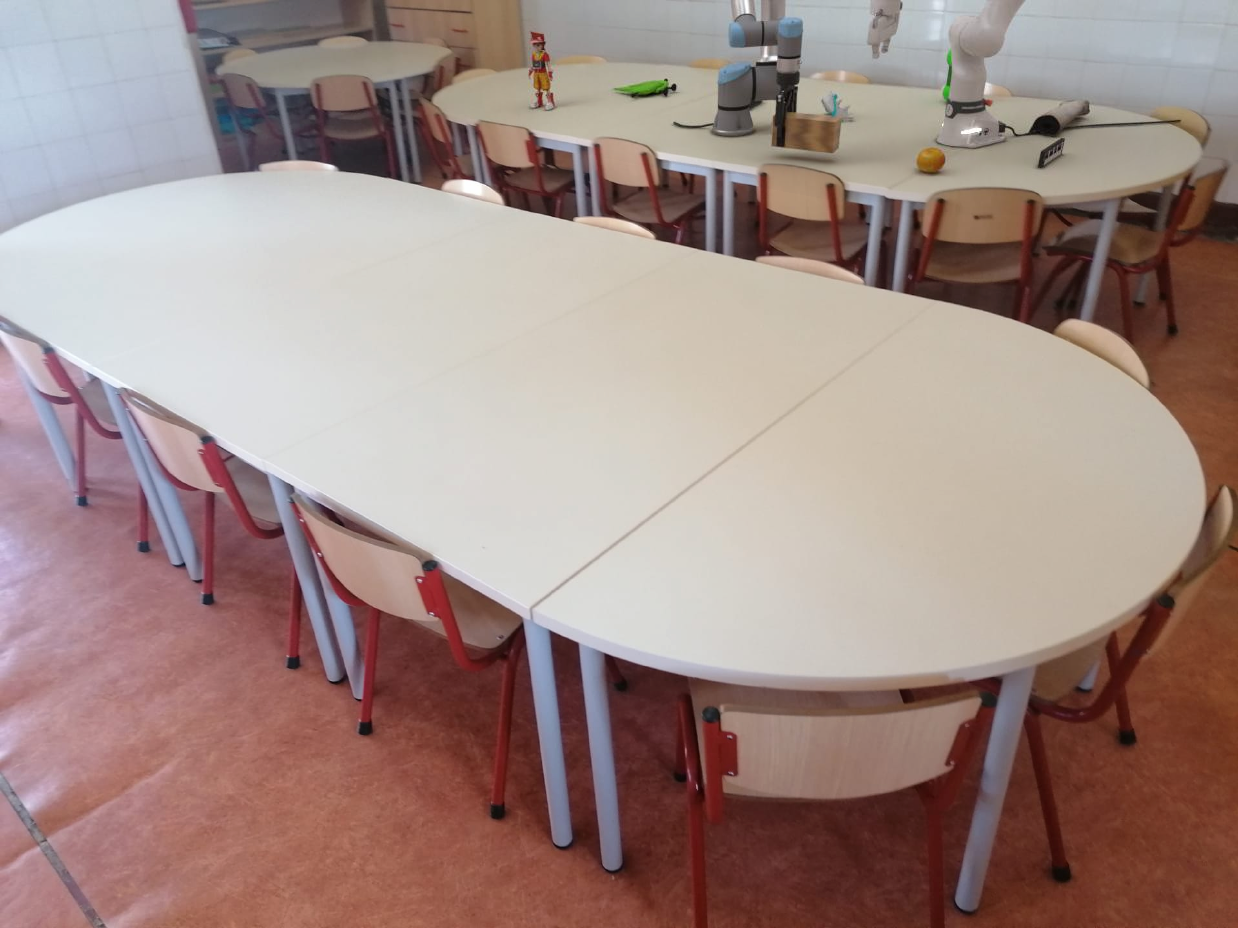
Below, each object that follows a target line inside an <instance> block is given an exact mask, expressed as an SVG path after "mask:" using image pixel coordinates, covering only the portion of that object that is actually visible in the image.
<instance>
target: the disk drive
mask: <svg viewBox="0 0 1238 928" xmlns="http://www.w3.org/2000/svg"><path fill="white" fill-rule="evenodd" d="M762 102H763V101H750V102H749V110H750V109H752V108H753V107H755V106H757V105H759V104H761V103H762Z"/></svg>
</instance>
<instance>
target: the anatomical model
mask: <svg viewBox="0 0 1238 928" xmlns="http://www.w3.org/2000/svg"><path fill="white" fill-rule="evenodd" d="M820 99H821V100H820V101H821V104H822V106H823V108H824V110H825V112H827V113H829V114H830V116H836V117H842V118H841V121H843V120H853V119H854V118H855V116H854V115H851V114H849V113H848V110H849V109H850V108H851V105H845V106H843V107H841V106H840V104H841V102H842V101H843V98H840V99H838V94H837V93H835V92H834V91H833V90H830V92H829V94H828V95H826V96H822V97H821V98H820ZM837 99H838V100H837Z"/></svg>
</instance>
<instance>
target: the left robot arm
mask: <svg viewBox="0 0 1238 928" xmlns="http://www.w3.org/2000/svg"><path fill="white" fill-rule="evenodd" d="M786 1H787V0H760V20H757V15H756V7H755V0H730V6H731V14H732V22H730V23H729V25H728V35H727V37H728V46H729V47H730V48H733V49H734V48H735V49H737V48H739V49H743V48H755V47H756V48H757V47H758V48H760V49H759V51H760V52H759V57H757V59H756V60H755V66H752V65H751V63H750V62H747V61H743V62H742V61H739V62H734V63H729V64H726V65H724V66H722V67H720V69H719V70H718V75H717V111H716V114H715V118H714V120H713V122H711V123H705V124H700V125H699V124H698V125H687V124H681V123H679V122H676V121H673V122H672V124H673V125H675V126H678V127H681V128H687V129H701V128H706V127H712V133H713V134H715V135H717V136H721V137H741V136H746V135H750V134H752V133H754V127H755V126H754V121H753V118H752V115H751V111H750V109H749V102H750V101H762V102H764V101H775V113H774V115H775V124H774V126H775V127H777V140H776V146H779V147H778V148H782V147H784V146H785V130H786V127H785V120H786V113H787V112H795V113H798V111H797V110H798V91H799V86H798V85H799V84H800V79H801V72H800V70H801V64H802V63H803V61H802V60H801V59H802V45H803V33H804V21H803V19H802V18H800V17H797V16H796V17H795V16H792V17H791V16H789V17H786Z"/></svg>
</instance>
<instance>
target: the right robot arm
mask: <svg viewBox="0 0 1238 928" xmlns="http://www.w3.org/2000/svg"><path fill="white" fill-rule="evenodd" d="M1025 2H1026V0H986V1H985V3H984V5H983V8H982V9H981V12H980V13H979V14H978V15H975V14H965V15H961V16H958V17H956V18H955V19H954V20H953V21H952V23H951V24H950V25H949V28H948V35H947V36H948V40H949V43H950V49H951V59H952V76H951V84H950V91H949V97H948V98H947V101H946V102H945V110H944V113H945V115H944V119H943V123H942V126H941V130H940V132H939V135H938V137H937V139H936V141H937V142H938V143H939V144H941V145H943V146H950V147H959V148H960V147H961V148H971V149H977V148H980V147H985V146H988V145H993V144H997V143H1001V142H1005V140H1006V138H1005V136H1004V135H1003V133H1006V129H1009V130H1010V131H1011V132H1012V134H1013V136H1016V137H1023V136H1029V135H1032V134H1039V133H1041V132H1040V131H1033V132H1029V131H1028V132H1026V133H1022V134H1020V133H1016V131H1015V128H1013V127H1012V126H1009V125H1007V124H1006V123H1004V122H1003V121H1001V120H998V119H997V118H996V117H994V116H993V115H992V114H991V113H990V112H989V111H988V110H987V107H992V106H993V104H994V101H993V100H992V99H990V98H987V99H986V98H984V93H985V88H986V83H987V77H988V74H987V69H986V64H985V59H988V58H992V57H995V56H996V55H997V54H998V53H999V52H1000V51H1001V49H1002V48H1003V46H1004V44H1005V39H1006V37H1005V35H1006V33H1007V30H1008V29H1009V27H1010V25H1011V23H1012V21H1013V19H1014V17H1015V16H1016V14H1017V12H1018V11H1019V10H1020V8H1021V7H1022V6H1023V4H1024V3H1025ZM903 6H904V3H903V1H902V0H870V9H869V14H870V15H872V16H873V17H871V18H870V20H869V23H868V31H867V37H866V43H867V45H868V46H871V52H872V55H871V58H872V59H873V60H877V59H879V58H880V54H881V53H882V54H886V53H888V52H889V46H890V44H891V39H892V37H893V36H895V35H896V34H897V31H898V28H899V22H900V15H901V11H902V10H903ZM881 44H882V46H881ZM880 46H881V50H880ZM880 51H881V52H880ZM986 106H987V107H986ZM1181 122H1182V119H1170V120H1156V121H1137V122H1135V121H1134V122H1114V123H1113V122H1111V123H1094V124H1080V125H1069V126H1065V127H1064V128H1063V129H1062V130H1068V129H1080V128H1081V129H1082V128H1093V127H1110V126H1132V125H1133V126H1135V125H1153V124H1154V125H1155V124H1170V123H1181Z"/></svg>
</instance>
